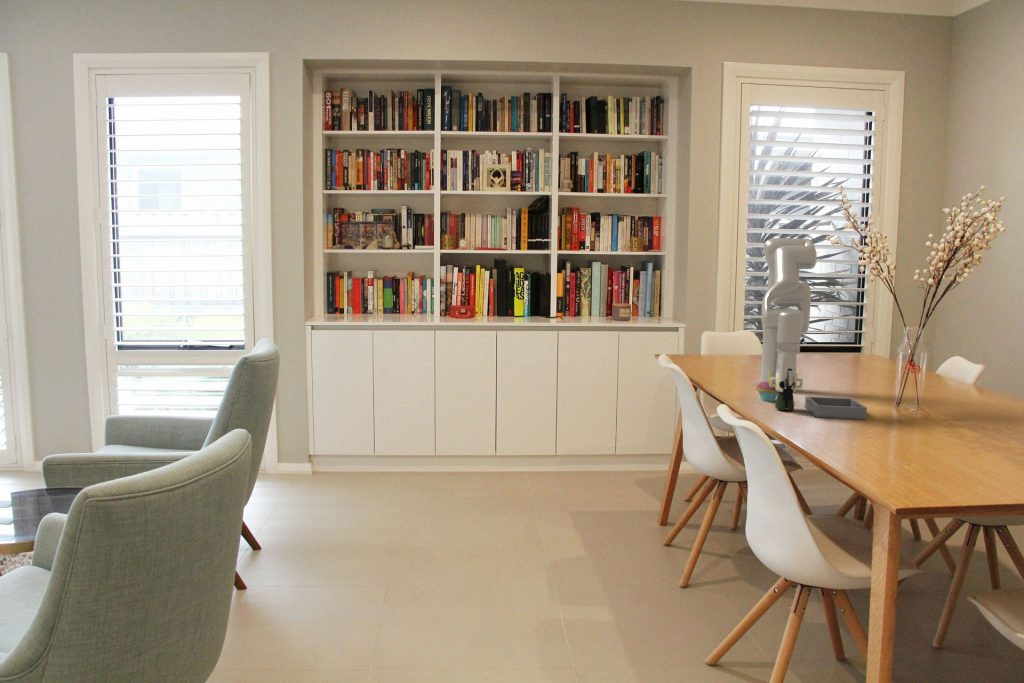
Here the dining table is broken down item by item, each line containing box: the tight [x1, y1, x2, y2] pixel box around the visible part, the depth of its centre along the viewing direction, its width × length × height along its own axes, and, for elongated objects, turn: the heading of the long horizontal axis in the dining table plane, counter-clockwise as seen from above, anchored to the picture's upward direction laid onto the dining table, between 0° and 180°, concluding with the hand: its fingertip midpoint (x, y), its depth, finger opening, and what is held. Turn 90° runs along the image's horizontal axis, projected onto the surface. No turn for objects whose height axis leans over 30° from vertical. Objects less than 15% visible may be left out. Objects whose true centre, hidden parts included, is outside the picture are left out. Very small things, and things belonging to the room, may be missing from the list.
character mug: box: [770, 372, 804, 411], centre depth 269 cm, size 11×7×13 cm, turn 81°
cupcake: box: [755, 371, 778, 403], centre depth 286 cm, size 9×8×12 cm
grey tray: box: [804, 395, 868, 421], centre depth 266 cm, size 16×16×4 cm
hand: (785, 397), depth 270 cm, fingers closed on character mug, 7 cm apart
